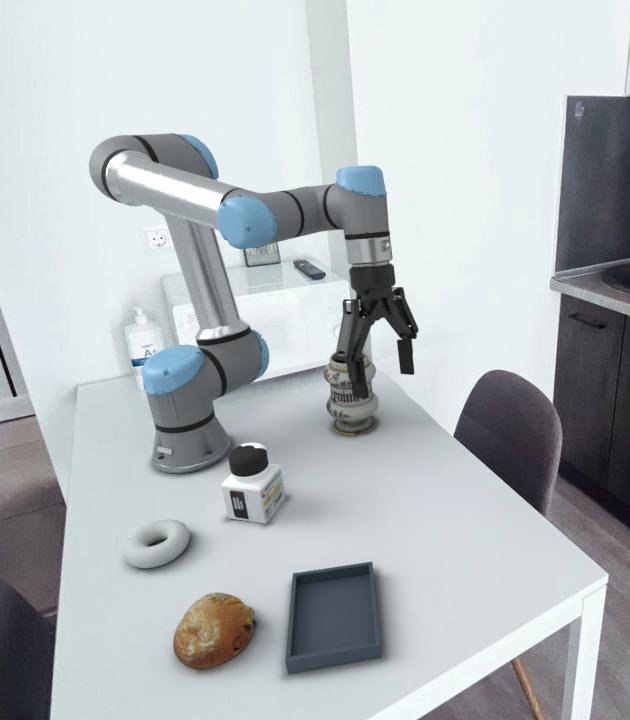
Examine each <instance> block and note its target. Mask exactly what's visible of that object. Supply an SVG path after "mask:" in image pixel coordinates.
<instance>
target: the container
mask: <svg viewBox="0 0 630 720" xmlns="http://www.w3.org/2000/svg"><path fill="white" fill-rule="evenodd" d="M227 460H228V466H229V470H230V475H229V476H228V477H226V479H225V480H224V481H222V483H221V485H220V487H221V491H222V492H221V493H222V497H223V502H224V505H225V509H226V515H227V518H228V519H230V520H235V521H236V520H237V521H243V522H250V523H257V524H264V525H265V524H267V523H268V522H269V520H270V519H271V518H272V517H273V515H274V514H275V512H276V511H277V510H278V509H279V507H280V506H281V504H282V503H284V500H285V499H286V493H285V486H284V479H283V473H282V467H281V465H280V464H274V463H270V461H269V456H268V450H267V447H266V446H265V445H263V444H262V443H259V442H245V443H241V444H239V445H238V446H235V447H233V448H232V449H230V450H229V452H228V454H227Z"/></svg>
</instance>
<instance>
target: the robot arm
mask: <svg viewBox="0 0 630 720" xmlns="http://www.w3.org/2000/svg"><path fill="white" fill-rule="evenodd" d="M88 173H89V175H90V178H91V180H92V183H93V184H94V186H95V187H96V189H97V190H98V191H99V192H100V193H102V195H104V196H106V197H107V198H109V199H110V200H112V201H114V202H117V203H120V204H122V205H125V206H128V207H141V206H146V207H149V208H152V209H153V210H154V211H156V212H158V213H159V214H161V215H162V216H163V217H164V219H165V222H166V225H167V229H168V232H169V234H170V238H171V242H172V244H173V247H174V251H175V254H176V257H177V260H178V265H179V267H180V269H181V273H182V277H183V279H184V283H185V285H186V288H187V292H188V295H189V298H190V302H191V305H192V309H193V310H194V313H195V314H194V315H195V318H196V320H197V324H198V326H199V329H198V330H197V333H196V335H195V336H194V339H195V341H196V345H193V344H179V345H177V346H171V347H167V348H164V349H161V350H159V351H157V352H155V353H154V354H153V355H151V356H150V357H148V358H147V359H146V360H145V362H144V363H143V365H142V367H141V377H142V387H143V390H144V391H145V394H146V398H147V402H148V405H149V410H150V412H151V417H152V420H153V424H154V428H155V434H154V440H153V441H154V442H153V449H152V459H153V463H154V466H155V467H156V469H158V470H159V471H161V472H164V473H168V474H187V473H193V472H198V471H201V470H204V469H207V468H209V467H211V466H213V465H215V464H217V463H218V462H220V461H221V460H223V459H224V458H225V457H226V456H228V454H229V453H230V451H231V441H230V437H229V434H228V432H227V431H226V430H225V428H224V427H223V425H222V424H221V422H220V420H219V419H218V417H217V416H216V412H215V408H214V403H213V402H214V401H215V400H217V399H219V398H222V397H224V396H226V395H228V394H230V393H232V392H235V391H236V390H238V389H240V388H243V387H245V386H249V385H251V384H252V383H253V382H255V381H256V380H258V379H260V378H261V377H263V376H264V375H265V373H266V371H267V370H268V368H269V364H270V350H269V347H268V344H267V341H266V340H265V338H262V334H261V333H260V332H259V331H257V330H255V329H253V328H251V324H250V323H249V322H247V321H245V320H244V319H242V318H241V316H240V313H239V308H238V305H237V302H236V299H235V295H234V292H233V291H234V290H233V288H232V283H231V282H230V278H229V275H228V271H227V267H226V264H225V261H224V258H223V254H222V251H221V247H220V244H219V240H218V236H217V233H216V231H219V233H220V235H221V237H222V239H223V240H224V241H227V243H228V245H229V246H231V247H232V248H234V249H237V250H247V249H248V250H249V249H261V248H264V247H266V246H269V245H272V244H277V243H280V242H284V241H288V240H291V239H296V238H300V237H303V236H309V235H313V234H317V233H322V232H329V231H338V230H339V231H340V230H341V231H343V235H344V237H343V238H344V243H345V244H344V245H345V252H346V261H347V264H349V265H351V267H350V268H349V269H348V274H349V282H350V288H351V289H352V290H353V291H355V298H344V299H342V318H341V322H340V327H339V333H338V339H337V345H336V351H335V352H336V355H335V357H336V359H337V360H344V361H346V364H347V371H348V378H349V380H351V386H352V393H353V397H355V398H363V399H366V398H368V391H367V383H366V375H365V367H364V360H360V356H361V353H362V351H364V348H365V344H366V342H367V339H368V336H369V333H370V330H371V328H372V326H374V325H375V323H376V322H377V321H380V320H382V319H385V321H386V322H387V323H388V325H389V326H390V327H391V328H392V330H393V331H394V332H395V333H396V335H397V336H398V337H399V339H396V344H397V345H396V346H397V356H398V363H399V374H400V375H408V376H414V375H415V364H414V363H415V362H414V347H413V340H416V339H417V337H418V333H419V326H418V324H417V322H416V320H415V318H414V315H413V312H412V310H411V308H410V305H409V304H408V301H407V299H406V294H405V289H404V287H403V286H395V285H396V283H397V282H396V273H395V265H394V264H393V263H390V262H391V261H392V260H393V258H394V257H393V248H392V242H391V241H392V240H391V231H390V224H389V212H388V192H387V190H386V184H385V179H384V172H383V170H382V169H381V168H380V167H379V166H376V165H353V166H352V165H351V166H345V167H341V168H339V169H337V171H336V181H335V183H330V184H329V183H328V184H321V185H312V186H309V185H307V186H301V187H297V188H292V189H286V190H278V191H271V192H257V191H254V190H248V189H245V188H243V187H240V186H237V185H233V184H230V183H226V182H224V181H220V180H218V179H219V174H220V172H219V167H218V163H217V161H216V159H215V157H214V155H213V153H212V152H211V150H210V148H209V147H208V146H207V145H206V144H205V143H204V142H202V141H201V140H200V139H199V138H197V137H196V136H194V135H191V134H187V133H185V134H183V133H176V132H170V133H150V134H119V135H115V136H111V137H109V138H106V139H104V140H103V141H101V142H100V143H99V144H97V146H95V148H94V149H93V150H92V152H91V154H90V158H89V161H88ZM343 351H345V353H343ZM353 352H354V354H352V353H353Z"/></svg>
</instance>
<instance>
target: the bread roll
mask: <svg viewBox="0 0 630 720" xmlns="http://www.w3.org/2000/svg"><path fill="white" fill-rule="evenodd" d="M255 612H256V611H255V608H253V607H252V606H248V605H247V604H245V602H243V601H242V599H241V598H240V597H236V596H235V595H233V594H229V593H226V592H220V591H219V592H218V591H216V592H211V593H207V594H204V595H203V596H201V597H200V598H198V599H197V600H196V601H194V602H193V603H192V604H191V605H190V606H189V607H188V609H187V610H186V611H185V613H184V614H183V617H182V619H180V620H179V622H178V624H177V626H176V628H175V632H174V635H173V640H172V641H173V642H172V644H173V652H174V654H175V656H176V658H177V659H178V660H179V662H180V663H182V664H183V665H184V666H186V667H189V668H192V669H196V670H206V669H211V668H212V667H216V666H220V665H223V664H225V663H227V662H228V661H230V660H232V659H233V658H235V657H236V656H237V655H239V654H240V653H241V652H242V651H243V650H244V649H245V648H246V646H248V644H249V642H250V640H251V638H252V637H253V633H254V629H255V626H256V625H257V623H258V621H257V620H254V614H255Z"/></svg>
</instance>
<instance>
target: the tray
mask: <svg viewBox="0 0 630 720" xmlns="http://www.w3.org/2000/svg"><path fill="white" fill-rule="evenodd" d="M375 586H376V584H375V575H374V566H373V561H367V562H366V561H365V562H360V563H359V562H358V563H354V564H353V563H352V564H345V565H340V566H333V567H327V568H319V569H313V570H307V571H300V572H293V573H292V576H291V591H290V602H289V615H288V626H287V635H286V636H287V637H286V649H285V660H284V661H285V666H286V673H287V675H293V674H297V673H303V672H308V671H313V670H319V669H326V668H331V667H335V666H341V665H347V664H352V663H353V664H354V663H358V662H363V661H370V660H374V659H381V658H382V651H381V649H382V648H381V638H380V629H379V628H380V627H379V619H378V618H379V617H378V608H377V596H376V587H375Z"/></svg>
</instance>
